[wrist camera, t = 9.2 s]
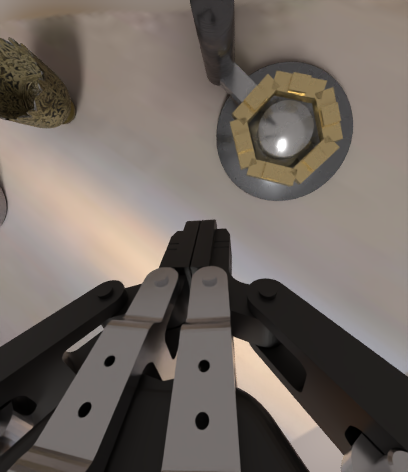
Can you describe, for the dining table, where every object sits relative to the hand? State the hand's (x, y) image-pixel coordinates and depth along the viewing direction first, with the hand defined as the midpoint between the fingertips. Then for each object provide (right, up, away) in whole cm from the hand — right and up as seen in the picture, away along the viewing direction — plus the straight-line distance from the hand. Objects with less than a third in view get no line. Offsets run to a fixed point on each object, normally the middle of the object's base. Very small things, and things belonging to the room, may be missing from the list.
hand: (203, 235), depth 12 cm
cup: (-19, +17, +18) cm, 31 cm away
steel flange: (+9, +12, +14) cm, 21 cm away
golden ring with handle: (+7, +14, +13) cm, 20 cm away
